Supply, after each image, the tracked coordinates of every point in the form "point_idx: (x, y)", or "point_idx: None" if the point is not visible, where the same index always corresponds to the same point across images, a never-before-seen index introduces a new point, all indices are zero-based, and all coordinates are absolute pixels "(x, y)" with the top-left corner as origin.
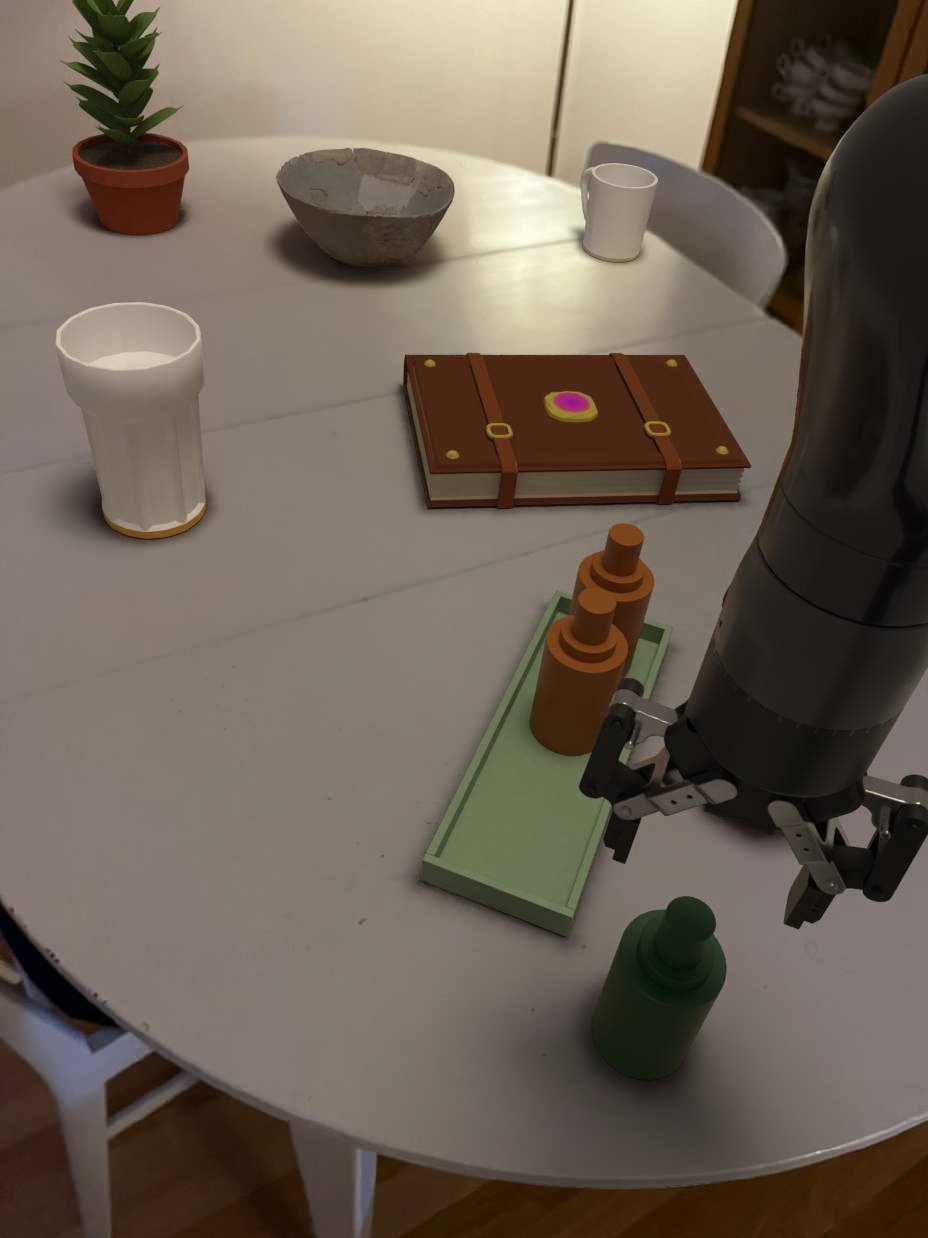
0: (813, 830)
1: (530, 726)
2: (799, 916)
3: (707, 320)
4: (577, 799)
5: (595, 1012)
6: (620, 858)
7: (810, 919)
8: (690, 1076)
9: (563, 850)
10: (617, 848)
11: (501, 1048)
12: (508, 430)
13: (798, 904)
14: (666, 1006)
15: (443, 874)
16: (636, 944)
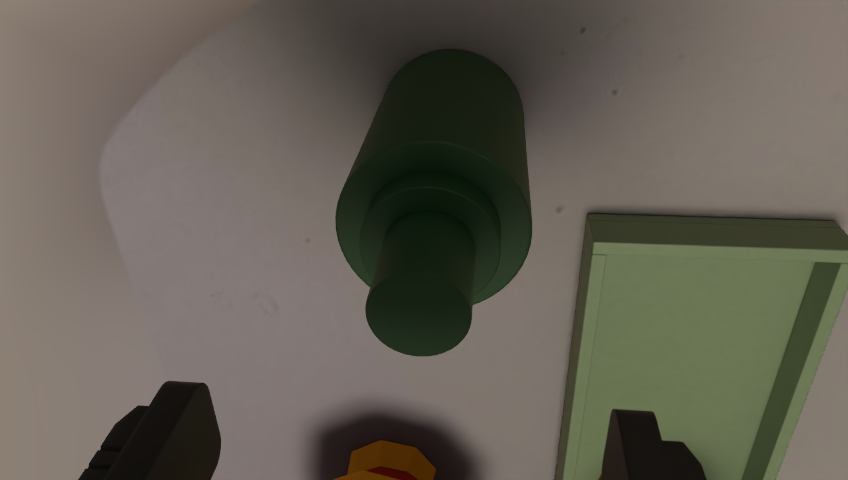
0: None
1: (705, 476)
2: (154, 422)
3: None
4: (615, 400)
5: (523, 118)
6: (636, 425)
7: (140, 416)
8: (366, 85)
9: (620, 329)
10: (660, 457)
11: (652, 12)
12: None
13: (150, 460)
14: (420, 140)
15: (813, 240)
16: (502, 231)
